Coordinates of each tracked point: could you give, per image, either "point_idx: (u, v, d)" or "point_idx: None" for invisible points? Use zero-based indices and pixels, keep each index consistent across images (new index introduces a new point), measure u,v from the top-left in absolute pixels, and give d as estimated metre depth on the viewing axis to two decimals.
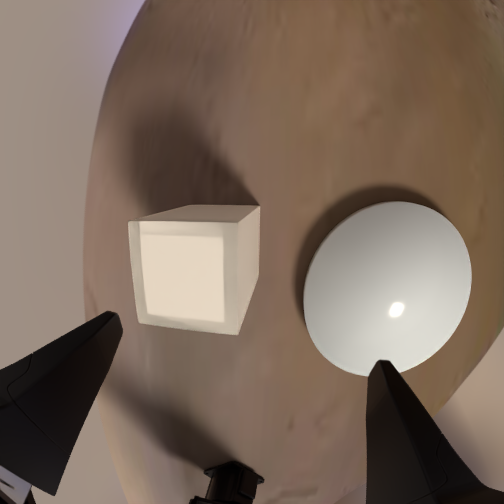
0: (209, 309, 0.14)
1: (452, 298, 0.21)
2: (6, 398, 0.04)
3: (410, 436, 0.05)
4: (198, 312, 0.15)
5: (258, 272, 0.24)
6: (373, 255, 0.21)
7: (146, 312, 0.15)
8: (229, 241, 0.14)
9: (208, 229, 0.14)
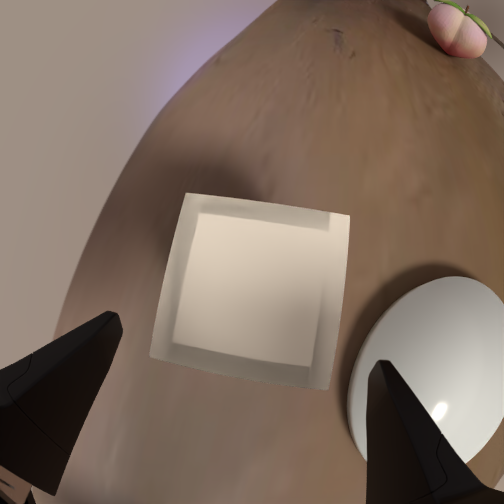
0: (289, 343, 0.08)
1: (502, 380, 0.14)
2: (6, 398, 0.04)
3: (410, 436, 0.05)
4: (269, 347, 0.08)
5: None
6: (433, 334, 0.16)
7: (170, 339, 0.09)
8: (337, 238, 0.09)
9: (309, 218, 0.10)
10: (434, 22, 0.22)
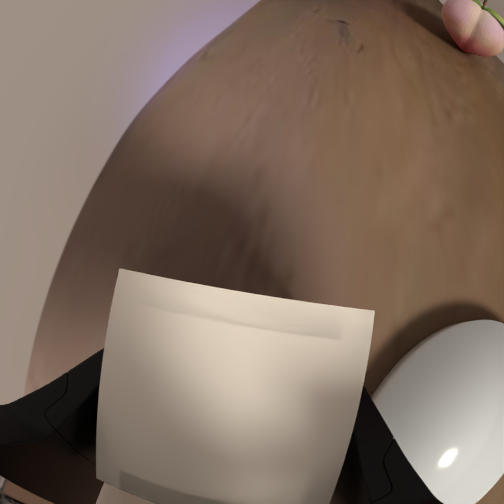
0: (271, 489, 0.05)
1: None
2: (45, 425, 0.04)
3: (355, 438, 0.05)
4: (243, 492, 0.05)
5: None
6: (449, 389, 0.12)
7: (116, 467, 0.05)
8: (352, 350, 0.06)
9: (310, 319, 0.06)
10: (450, 15, 0.18)
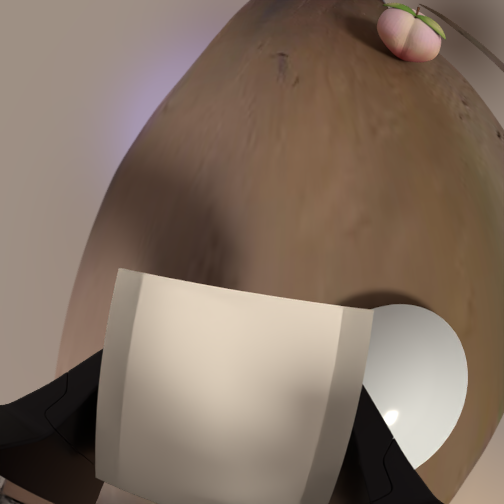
0: (270, 488, 0.05)
1: (450, 392, 0.18)
2: (44, 425, 0.04)
3: (355, 438, 0.05)
4: (242, 492, 0.05)
5: None
6: (367, 359, 0.20)
7: (116, 466, 0.05)
8: (351, 349, 0.06)
9: (309, 318, 0.06)
10: (383, 30, 0.25)
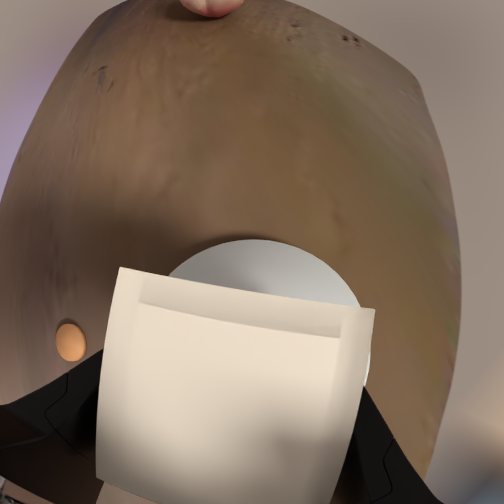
0: (271, 488, 0.05)
1: None
2: (45, 425, 0.04)
3: (355, 438, 0.05)
4: (243, 492, 0.05)
5: None
6: None
7: (116, 466, 0.05)
8: (352, 348, 0.06)
9: (310, 317, 0.06)
10: (182, 0, 0.25)
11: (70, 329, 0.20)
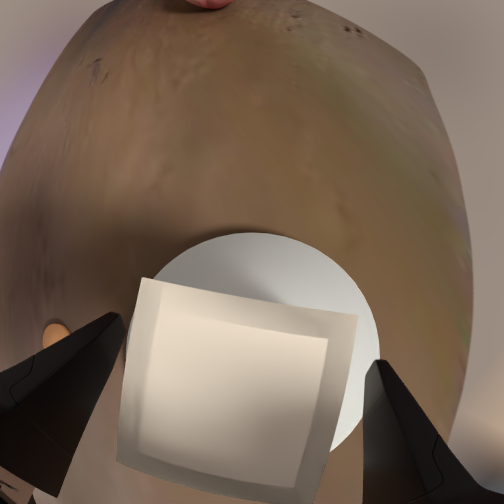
0: (270, 466, 0.06)
1: None
2: (8, 400, 0.04)
3: (406, 436, 0.05)
4: (247, 469, 0.06)
5: None
6: None
7: (136, 449, 0.06)
8: (338, 347, 0.07)
9: (303, 321, 0.07)
10: None
11: (57, 329, 0.18)
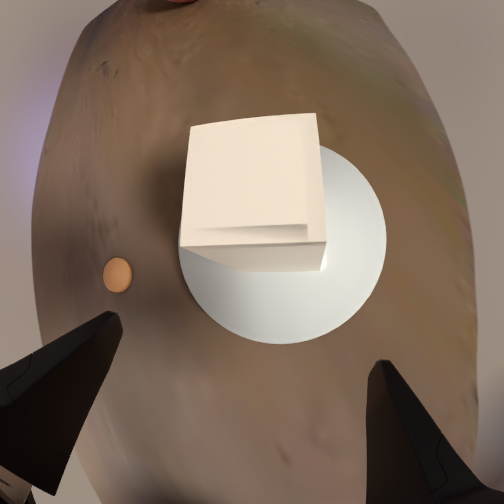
0: (286, 207, 0.11)
1: (347, 195, 0.21)
2: (5, 397, 0.04)
3: (410, 436, 0.05)
4: (271, 214, 0.11)
5: None
6: None
7: (194, 227, 0.12)
8: (308, 129, 0.11)
9: (284, 120, 0.12)
10: None
11: (116, 262, 0.25)
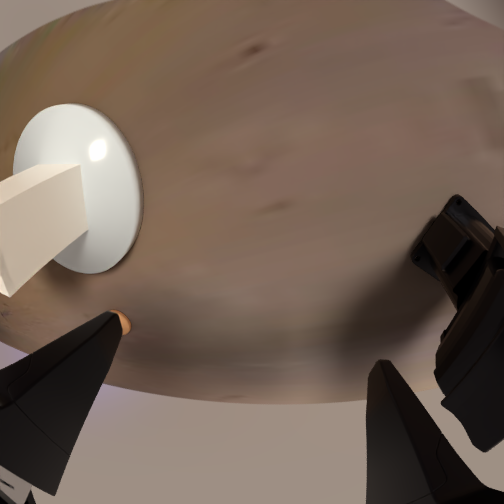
0: None
1: (37, 139, 0.18)
2: (5, 397, 0.04)
3: (410, 436, 0.05)
4: None
5: (76, 164, 0.19)
6: None
7: (1, 287, 0.13)
8: None
9: None
10: None
11: None
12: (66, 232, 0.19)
